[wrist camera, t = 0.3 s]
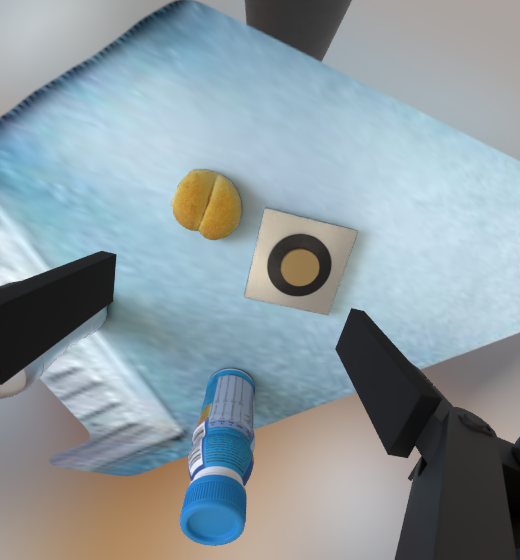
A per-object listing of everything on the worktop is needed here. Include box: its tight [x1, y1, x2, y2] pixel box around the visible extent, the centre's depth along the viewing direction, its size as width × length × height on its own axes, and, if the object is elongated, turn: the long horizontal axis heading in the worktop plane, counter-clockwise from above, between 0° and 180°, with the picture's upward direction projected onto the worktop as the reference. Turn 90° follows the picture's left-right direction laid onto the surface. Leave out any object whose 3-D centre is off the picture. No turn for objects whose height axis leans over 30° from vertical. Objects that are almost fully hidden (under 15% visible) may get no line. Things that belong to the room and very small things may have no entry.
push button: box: [244, 208, 358, 315], centre depth 37 cm, size 13×13×3 cm
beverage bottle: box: [180, 369, 255, 546], centre depth 36 cm, size 8×8×20 cm
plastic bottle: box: [0, 307, 107, 399], centre depth 31 cm, size 6×7×20 cm
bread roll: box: [171, 169, 242, 240], centre depth 33 cm, size 8×9×4 cm
